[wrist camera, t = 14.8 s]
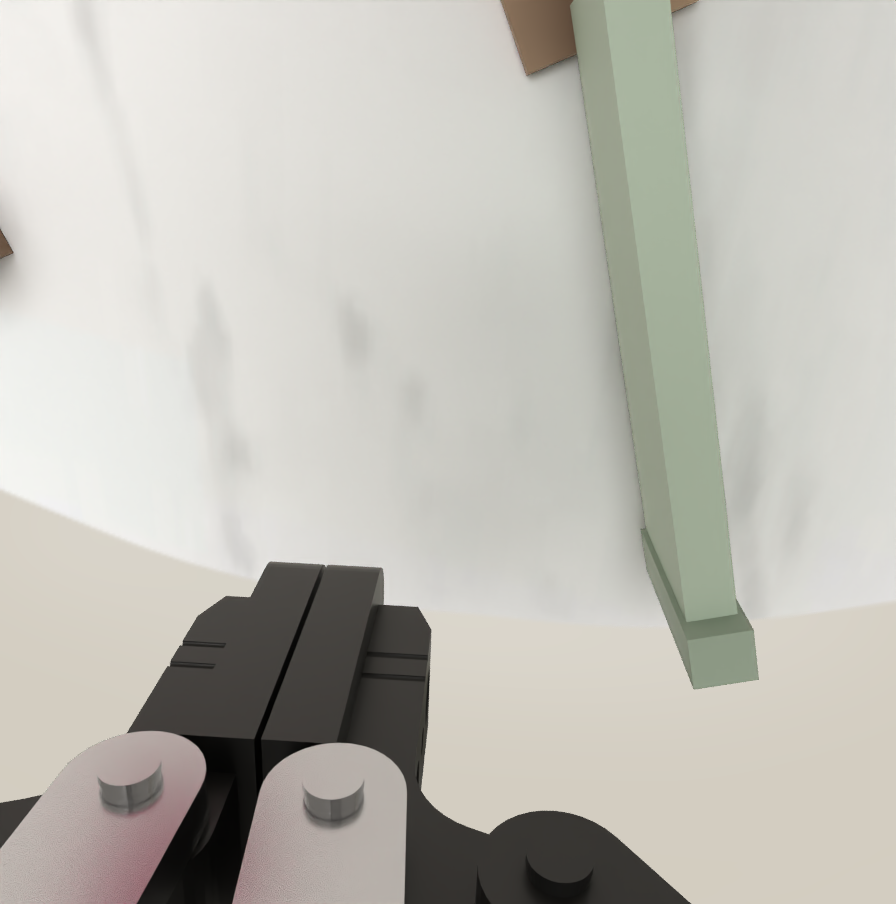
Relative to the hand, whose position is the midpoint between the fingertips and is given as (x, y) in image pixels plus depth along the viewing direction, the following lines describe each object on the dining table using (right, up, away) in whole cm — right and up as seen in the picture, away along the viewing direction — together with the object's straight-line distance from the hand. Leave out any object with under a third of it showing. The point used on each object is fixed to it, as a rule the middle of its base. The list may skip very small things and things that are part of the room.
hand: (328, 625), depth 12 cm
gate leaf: (+8, +7, +19) cm, 22 cm away
